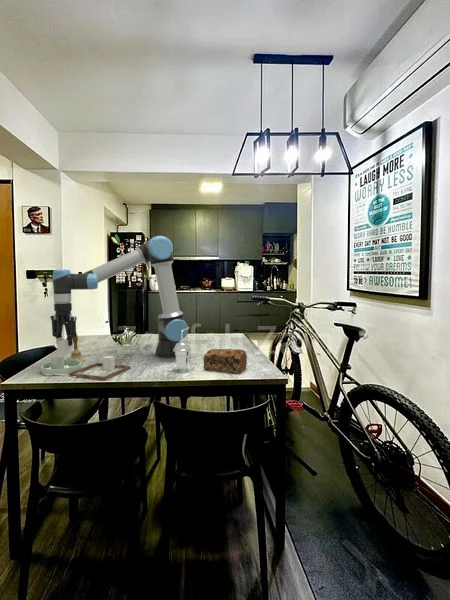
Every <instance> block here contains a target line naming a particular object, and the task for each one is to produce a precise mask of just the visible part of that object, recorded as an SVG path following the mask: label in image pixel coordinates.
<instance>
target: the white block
mask: <svg viewBox="0 0 450 600" xmlns="http://www.w3.org/2000/svg"><path fill="white" fill-rule="evenodd" d="M57 353H58V354H59V355H60V354H61V355H67V354H68V353H66V338H65V339H64V338H63V340H59V341H58V345H57ZM58 354H57V355H58Z"/></svg>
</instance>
